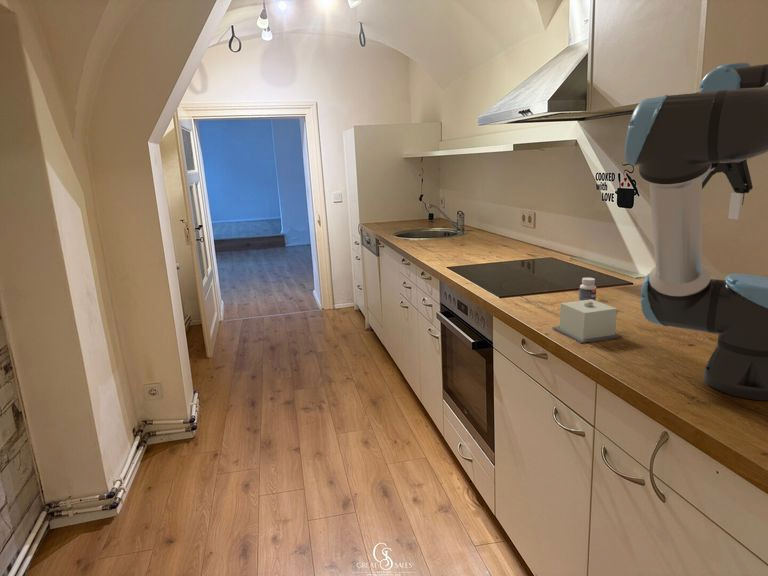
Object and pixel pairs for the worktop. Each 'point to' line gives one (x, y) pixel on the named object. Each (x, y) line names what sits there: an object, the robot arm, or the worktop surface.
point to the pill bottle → (587, 289)
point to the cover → (588, 319)
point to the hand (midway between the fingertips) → (713, 220)
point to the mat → (586, 339)
